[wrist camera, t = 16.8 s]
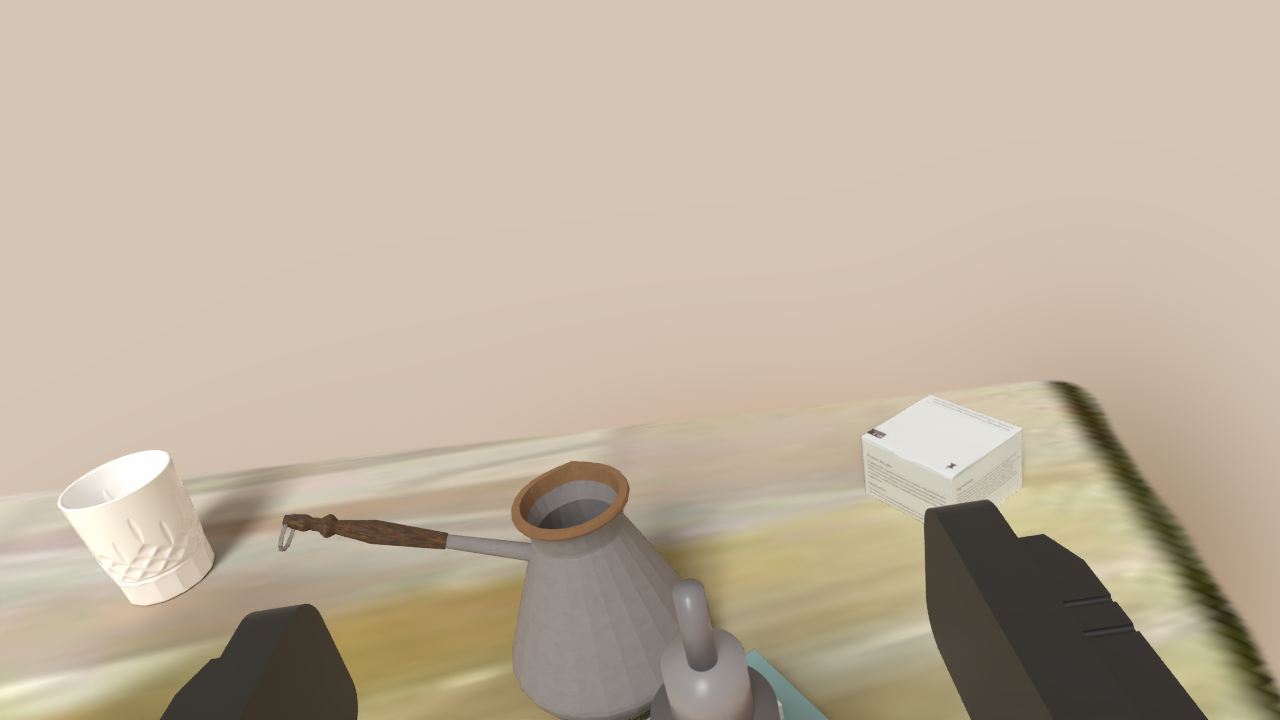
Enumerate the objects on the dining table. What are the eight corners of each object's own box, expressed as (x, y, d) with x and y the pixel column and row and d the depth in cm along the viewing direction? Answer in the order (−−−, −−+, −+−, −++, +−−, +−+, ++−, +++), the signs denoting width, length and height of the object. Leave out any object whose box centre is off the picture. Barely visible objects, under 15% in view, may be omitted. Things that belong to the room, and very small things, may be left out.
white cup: (131, 568, 68) (72, 472, 63) (227, 533, 70) (177, 438, 65) (110, 627, 61) (43, 524, 56) (217, 587, 63) (161, 484, 58)
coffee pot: (700, 585, 52) (660, 391, 46) (725, 734, 42) (678, 509, 36) (390, 642, 53) (308, 458, 47) (339, 801, 43) (225, 593, 36)
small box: (1025, 488, 55) (1027, 426, 53) (952, 542, 52) (950, 479, 50) (932, 448, 61) (930, 391, 59) (861, 494, 58) (857, 435, 56)
